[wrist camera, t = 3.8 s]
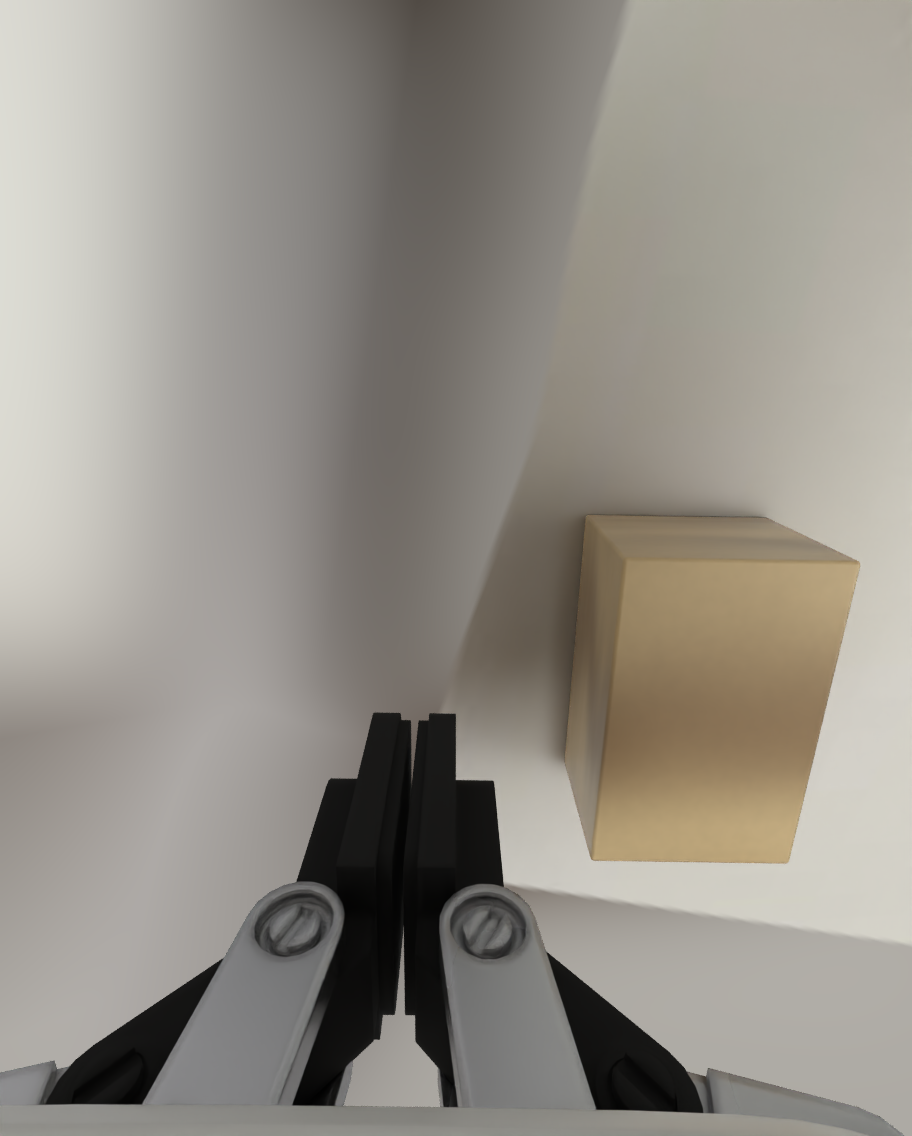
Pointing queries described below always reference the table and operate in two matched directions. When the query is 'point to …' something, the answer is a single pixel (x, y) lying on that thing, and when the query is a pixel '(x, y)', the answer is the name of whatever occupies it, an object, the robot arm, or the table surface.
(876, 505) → the table surface
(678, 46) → the table surface
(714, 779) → the box
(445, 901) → the robot arm
